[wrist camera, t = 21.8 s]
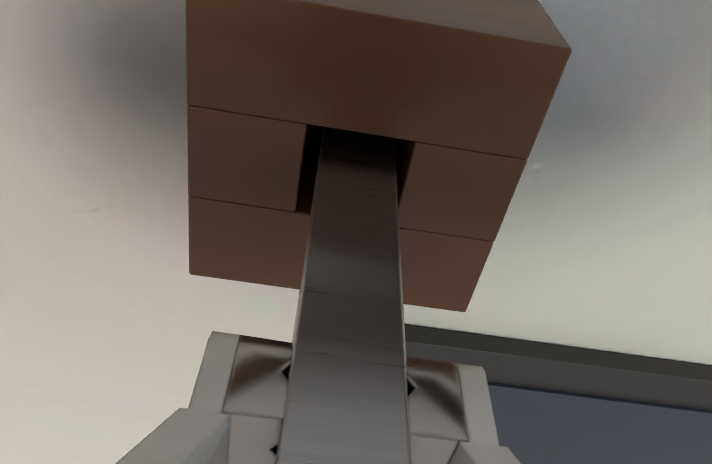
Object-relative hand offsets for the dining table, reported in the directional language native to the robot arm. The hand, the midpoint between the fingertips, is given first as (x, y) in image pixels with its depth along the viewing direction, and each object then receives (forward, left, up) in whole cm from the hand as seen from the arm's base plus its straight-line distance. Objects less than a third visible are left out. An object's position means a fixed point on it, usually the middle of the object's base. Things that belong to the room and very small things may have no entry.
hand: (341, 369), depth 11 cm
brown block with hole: (0, 0, -11) cm, 11 cm away
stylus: (0, 0, -11) cm, 11 cm away
